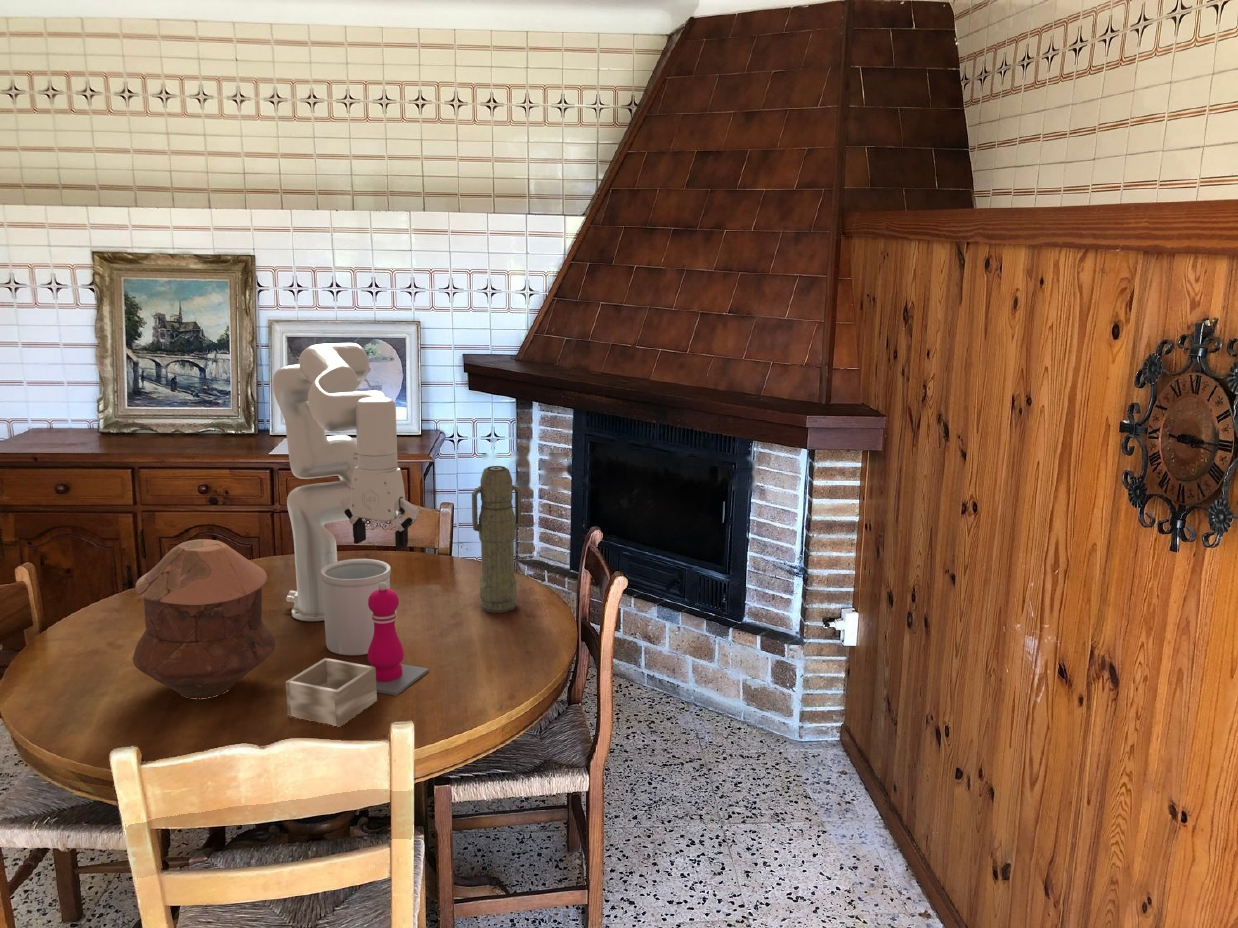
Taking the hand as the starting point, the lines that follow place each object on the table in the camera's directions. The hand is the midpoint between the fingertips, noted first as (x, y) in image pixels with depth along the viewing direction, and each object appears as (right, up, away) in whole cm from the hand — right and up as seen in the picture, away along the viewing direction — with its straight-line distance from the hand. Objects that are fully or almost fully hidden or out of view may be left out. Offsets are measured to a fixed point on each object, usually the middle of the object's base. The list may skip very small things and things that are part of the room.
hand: (380, 545), depth 187 cm
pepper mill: (0, -27, +6) cm, 28 cm away
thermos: (+18, -19, +46) cm, 53 cm away
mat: (0, -28, +6) cm, 28 cm away
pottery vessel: (-34, -29, 0) cm, 45 cm away
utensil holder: (-10, -24, +23) cm, 35 cm away
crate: (-7, -30, -7) cm, 32 cm away
